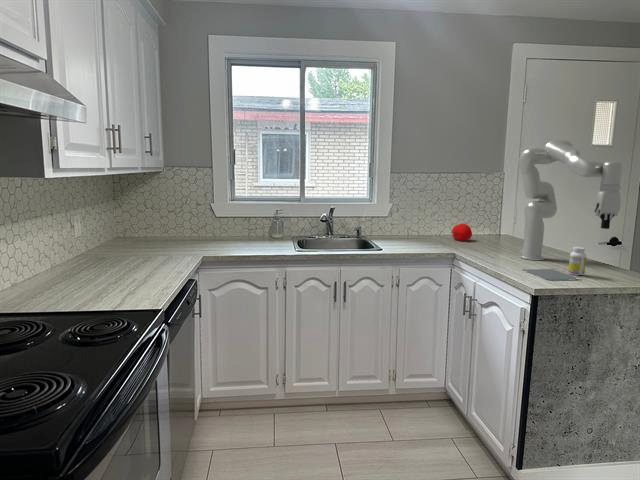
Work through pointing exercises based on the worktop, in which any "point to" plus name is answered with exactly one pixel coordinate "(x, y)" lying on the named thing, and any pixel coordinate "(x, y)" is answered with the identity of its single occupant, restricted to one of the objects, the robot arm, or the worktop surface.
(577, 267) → the supplement bottle
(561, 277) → the mat
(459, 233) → the tomato
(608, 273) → the worktop surface
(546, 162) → the robot arm
